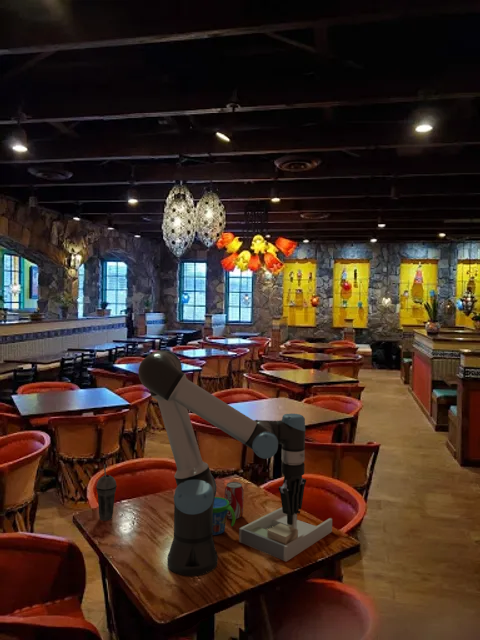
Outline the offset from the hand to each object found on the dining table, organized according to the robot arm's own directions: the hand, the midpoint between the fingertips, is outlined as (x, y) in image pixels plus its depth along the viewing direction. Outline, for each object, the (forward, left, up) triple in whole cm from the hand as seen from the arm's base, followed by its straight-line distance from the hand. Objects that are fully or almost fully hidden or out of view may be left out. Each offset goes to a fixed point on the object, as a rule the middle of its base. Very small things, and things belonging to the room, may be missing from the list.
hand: (291, 532), depth 162 cm
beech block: (-5, 0, -1) cm, 5 cm away
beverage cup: (-29, +62, -4) cm, 68 cm away
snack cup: (-10, +26, -4) cm, 28 cm away
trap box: (+4, +5, -4) cm, 7 cm away
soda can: (+4, +29, -4) cm, 29 cm away
